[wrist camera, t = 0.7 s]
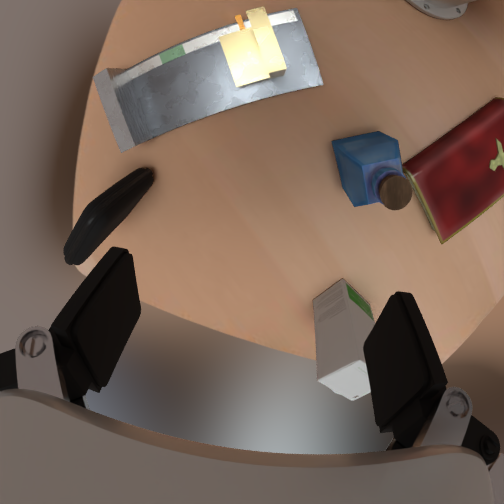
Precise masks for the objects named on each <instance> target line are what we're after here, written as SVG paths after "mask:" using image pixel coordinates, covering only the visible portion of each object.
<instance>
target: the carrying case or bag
mask: <svg viewBox="0 0 504 504" xmlns="http://www.w3.org/2000/svg"><path fill="white" fill-rule="evenodd" d="M152 175H153V172H152V170H151V169H149V168H146V169H144V168H139V169H137V170H135V171H133V172H132V173H130V174H129V175H127V176H126V177H124V178H123V179H121V180H120V181H118V182H117V183H116V184H114V185H113V186H111V187H110V188H109V189H107V190H106V191H105V192H103V193H102V194H101V195H99V196H98V197H97V198H95V199H94V200H93V201H91V202H90V203H89V204H88V205H87V207H86V208H85V209H84V211H83V212H82V214H81V216H80V218H79V219H78V221H77V223H76V225H75V227H74V229H73V230H72V232H71V234H70V236H69V238H68V240H67V242H66V244H65V246H64V255H65V261H66V263H67V264H69V265H72V264H74V265H80V264H82V263H83V262H84V261H85V260H86V259H87V258H88V257H89V256H90V255H91V254H92V253H93V252H94V251H95V249H96V248H97V247H98V246H99V245H100V244H101V243H102V242H103V241H104V240H105V239H106V238H107V237H108V236H109V235H110V234H111V232H112V231H113V230H114V229H115V228H116V227H117V226H118V225H119V224H120V223H121V222H122V221H123V220H124V219H125V218H126V217H127V216H128V214H129V213H130V212H131V211H132V209H133V208H134V207H135V205H136V204H137V203H138V202H139V200H140V199H141V198H142V197H143V195H144V194H145V193H146V192H147V191H148V189H149V188H150V187H151V185H152V184H153V181H154V179H153V176H152Z"/></svg>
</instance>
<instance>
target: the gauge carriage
mask: <svg viewBox="0 0 504 504" xmlns="http://www.w3.org/2000/svg"><path fill="white" fill-rule="evenodd" d="M246 13H247V16H248V18H249V21H250V24H251V26H252V27H249V28H245V25H244V23H243V20H242V18H241V15H237V16H235V18H236V21H237V23H238V26H239V28H240V30H239V31H236V32H232V33H229V34H226V35H223V36H220V37H219V40H220V43H221V45H222V48H223V51H224V54H225V56H226V59H227V62H228V65H229V67H230V70H231V73H232V76H233V79H234V81H235V84H236V87H239V88H241V87H244V86H247V85H251V84H254V83H258V82H261V81H265V80H269V79H272V78H276V77H280V76H284V74H285V72H286V69H287V68H286V65H285V62H284V59H283V56H282V53H281V50H280V47H279V45H278V42H277V39H276V37H275V34H274V31H273V29H272V26H271V23H270V21H269V18H268V16H267V13H266V11H265V8H264V7H260V8H256V9H252V10H248V11H246Z"/></svg>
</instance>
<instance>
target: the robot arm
mask: <svg viewBox="0 0 504 504" xmlns="http://www.w3.org/2000/svg"><path fill="white" fill-rule="evenodd" d="M406 1H408V2H409V3H410V4H411V5H412V6H414V7H415V8H417V9H418V10H420V11H421V12H423V13H425V14H427V15H429V16H432V17H434V18H438V19H443V20H451V19H455V18H458V17H460V16H462V15H463V14H464V13H465V11H466V9H467V6H468V3H469V2H473V1H476V0H406ZM140 314H141V305H140V300H139V294H138V288H137V282H136V276H135V269H134V262H133V256H132V254H129V251H128V250H127V249H124V248H119V247H111V248H110V249H109V250H108V252H107V253H106V254H105V255H104V256H103V258H102V259H101V260H100V261H99V262H98V264H97V265H96V266H95V267H94V269H93V270H92V271H91V272H90V273H89V275H88V276H87V277H86V279H85V280H84V281H83V282H82V284H81V285H80V286H79V288H78V289H77V290H76V291H75V293H74V294H73V295H72V297H71V298H70V299H69V301H68V302H67V303H66V305H65V306H64V308H63V309H62V311H61V312H60V313H59V315H58V316H57V317H56V319H55V320H54V322H53V323H52V325H51V327H50V329H49V330H47V329H46V328H44V327H40V326H35V327H31V328H28V329H26V330H25V331H24V332H22V333H21V335H20V336H19V337H18V339H17V342H16V347H15V349H12V350H9V351H6V352H4V353H1V354H0V504H504V455H503V454H502V453H501V454H499V451H500V443H499V439H498V437H497V436H496V435H495V433H494V432H492V431H491V430H490V429H489V428H487V427H486V426H485V425H483V424H482V423H481V422H480V421H478V420H477V419H476V418H475V417H473V416H472V415H471V414H472V403H471V400H470V397H469V396H468V395H467V393H466V392H465V391H463V390H462V389H460V388H458V387H450V388H448V389H446V386H445V385H446V384H447V383H448V381H447V379H446V376H445V373H444V370H443V367H442V364H441V361H440V359H439V356H438V353H437V351H436V348H435V346H434V343H433V341H432V338H431V336H430V333H429V331H428V328H427V326H426V324H425V321H424V319H423V317H422V314H421V312H420V310H419V308H418V305H417V303H416V301H415V299H414V297H413V295H412V294H411V293H407V292H399V291H398V292H396V293H395V294H394V295H391V296H390V298H389V300H388V302H387V304H386V305H385V307H384V309H383V311H382V313H381V315H380V316H379V318H378V320H377V322H376V323H375V325H374V327H373V329H372V330H371V332H370V334H369V335H368V337H367V339H366V340H365V342H364V345H363V352H364V357H365V362H366V367H367V373H368V378H369V384H370V390H371V395H372V402H373V408H374V414H375V422H376V424H377V426H379V428H380V433H385V432H393V434H394V438H393V439H392V441H391V442H390V444H389V446H388V447H387V449H386V451H379V452H368V453H354V454H331V455H330V454H329V455H328V454H326V455H325V454H324V455H314V454H313V455H312V454H283V453H268V452H258V451H250V450H241V449H234V448H227V447H221V446H215V445H209V444H204V443H199V442H194V441H189V440H185V439H180V438H176V437H172V436H168V435H164V434H160V433H157V432H153V431H149V430H146V429H143V428H139V427H136V426H133V425H130V424H127V423H124V422H121V421H118V420H115V419H112V418H109V417H107V416H104V415H101V414H99V413H95V412H93V411H91V410H90V409H89V406H88V403H87V400H86V396H85V395H86V393H87V390H88V389H91V390H93V391H95V392H98V393H99V392H100V390H101V388H102V387H105V386H106V385H107V384H108V382H109V379H110V377H111V375H112V373H113V371H114V368H115V366H116V364H117V362H118V360H119V358H120V356H121V353H122V351H123V349H124V347H125V345H126V343H127V341H128V339H129V337H130V335H131V333H132V330H133V329H134V327H135V325H136V323H137V321H138V319H139V317H140Z"/></svg>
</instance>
